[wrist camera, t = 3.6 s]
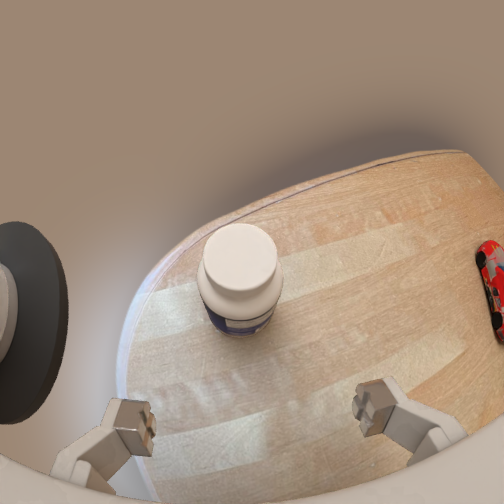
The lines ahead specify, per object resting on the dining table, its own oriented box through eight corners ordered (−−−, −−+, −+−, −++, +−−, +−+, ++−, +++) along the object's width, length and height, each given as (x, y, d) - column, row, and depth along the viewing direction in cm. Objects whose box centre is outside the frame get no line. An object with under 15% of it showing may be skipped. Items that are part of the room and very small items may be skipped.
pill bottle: (203, 282, 24) (185, 218, 16) (264, 273, 25) (278, 205, 16) (213, 343, 22) (195, 311, 13) (278, 332, 23) (303, 292, 14)
